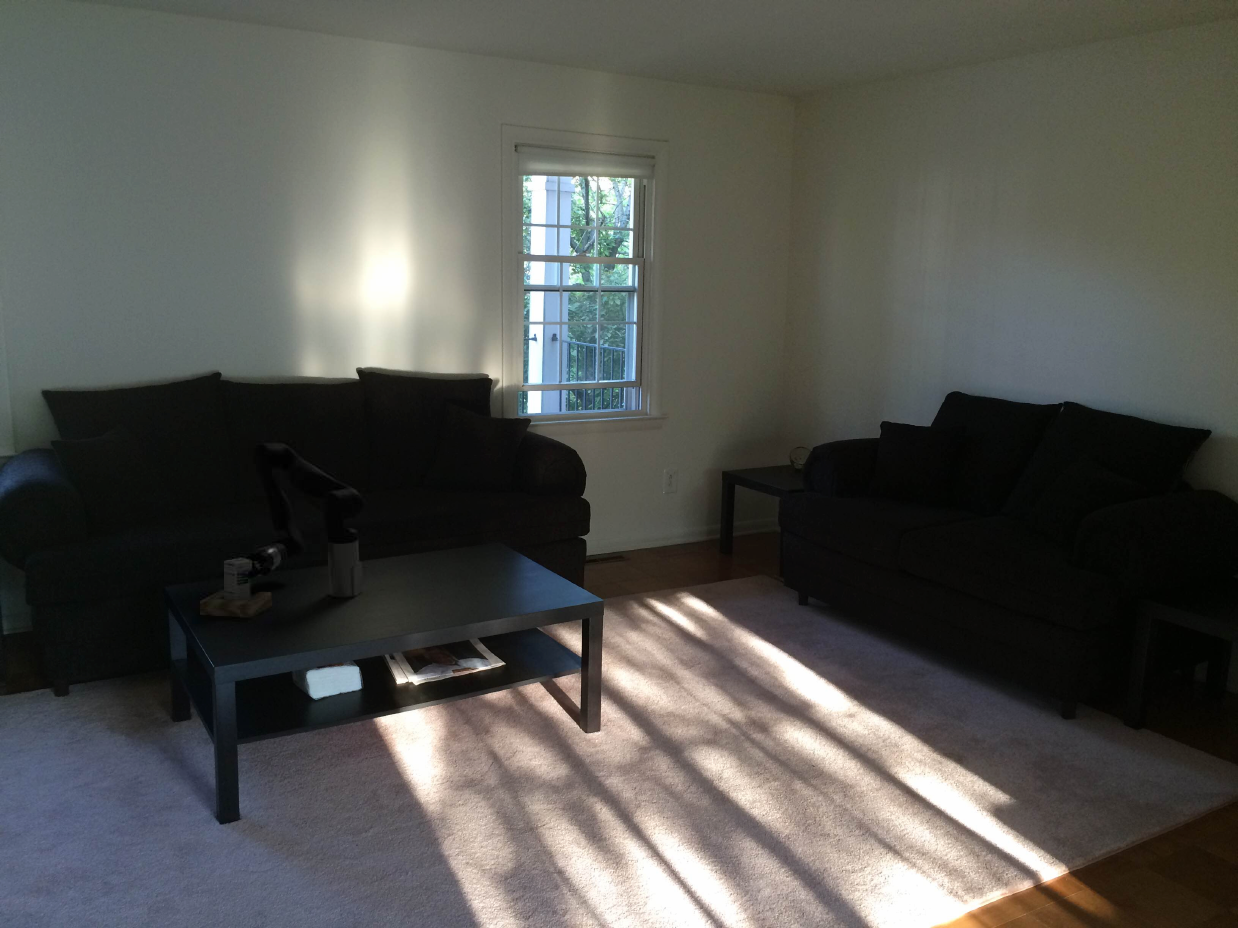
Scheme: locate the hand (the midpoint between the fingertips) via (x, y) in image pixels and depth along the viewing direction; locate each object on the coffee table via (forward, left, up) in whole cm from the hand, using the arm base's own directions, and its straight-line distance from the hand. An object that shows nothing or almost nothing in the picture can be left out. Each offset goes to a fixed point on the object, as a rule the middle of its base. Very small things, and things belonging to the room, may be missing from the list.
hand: (236, 574), depth 292 cm
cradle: (0, +1, -11) cm, 11 cm away
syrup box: (+1, -1, -11) cm, 11 cm away
